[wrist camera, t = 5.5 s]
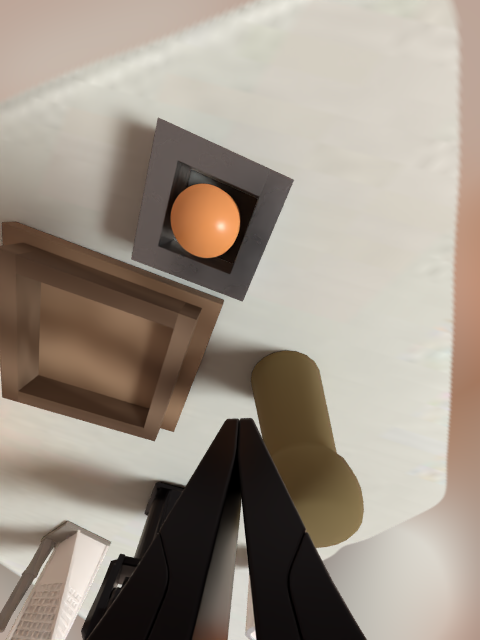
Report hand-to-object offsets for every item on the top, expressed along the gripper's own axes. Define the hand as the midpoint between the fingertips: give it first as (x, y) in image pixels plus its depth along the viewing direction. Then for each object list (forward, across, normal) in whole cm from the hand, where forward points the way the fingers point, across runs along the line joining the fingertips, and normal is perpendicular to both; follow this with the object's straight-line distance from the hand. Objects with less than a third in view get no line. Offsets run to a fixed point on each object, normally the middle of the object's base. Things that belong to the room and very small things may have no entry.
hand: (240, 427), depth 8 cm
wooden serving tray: (+12, +11, +2) cm, 16 cm away
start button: (+11, +2, -6) cm, 12 cm away
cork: (+12, -3, +7) cm, 14 cm away
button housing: (+11, +2, -6) cm, 13 cm away
